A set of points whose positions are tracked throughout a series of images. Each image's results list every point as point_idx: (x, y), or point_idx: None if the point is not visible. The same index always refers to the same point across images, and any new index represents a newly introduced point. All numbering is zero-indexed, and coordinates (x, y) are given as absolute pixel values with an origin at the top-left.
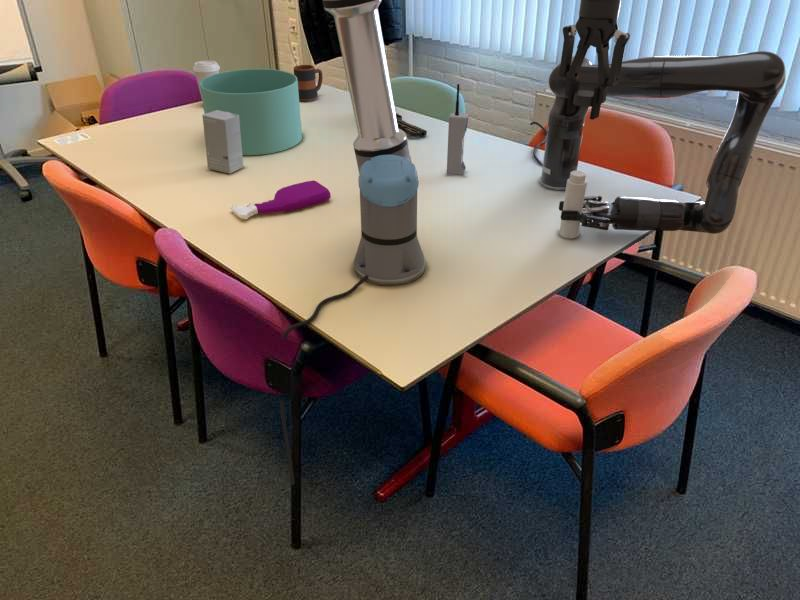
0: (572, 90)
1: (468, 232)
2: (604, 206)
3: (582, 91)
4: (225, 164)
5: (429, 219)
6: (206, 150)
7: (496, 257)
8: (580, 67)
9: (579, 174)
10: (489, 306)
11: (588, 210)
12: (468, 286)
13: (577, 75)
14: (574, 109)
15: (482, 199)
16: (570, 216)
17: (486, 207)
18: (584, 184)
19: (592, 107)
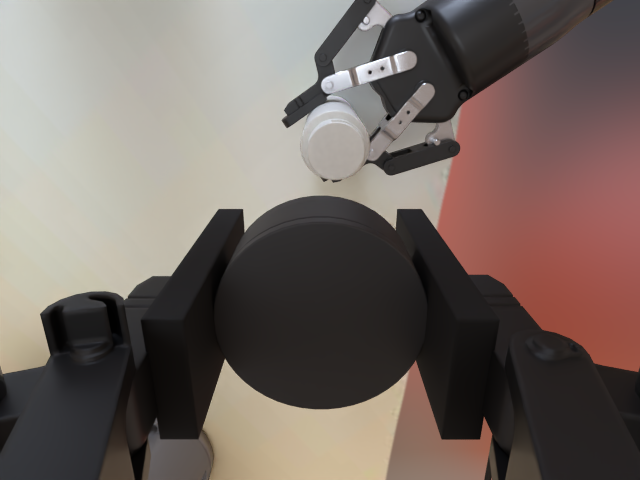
0: (212, 388)
1: (147, 266)
2: (420, 91)
3: (262, 286)
4: None
5: (37, 271)
6: None
7: None
8: (105, 460)
9: (344, 158)
10: (353, 441)
11: (384, 133)
12: (291, 419)
13: (126, 367)
14: (241, 230)
15: (25, 81)
16: None
17: (73, 121)
18: (368, 154)
19: None
